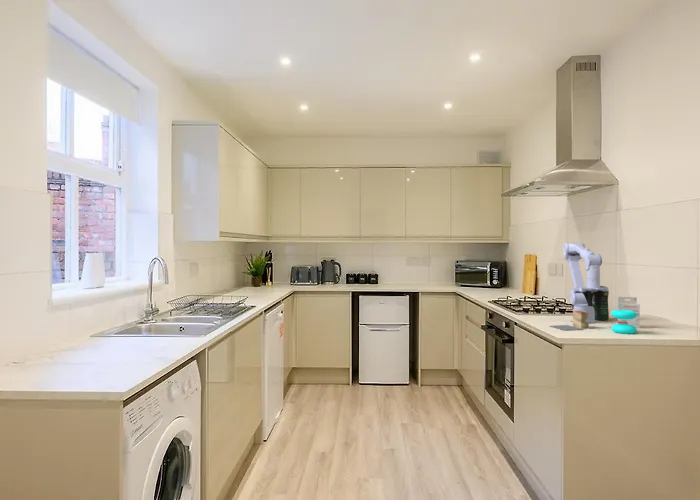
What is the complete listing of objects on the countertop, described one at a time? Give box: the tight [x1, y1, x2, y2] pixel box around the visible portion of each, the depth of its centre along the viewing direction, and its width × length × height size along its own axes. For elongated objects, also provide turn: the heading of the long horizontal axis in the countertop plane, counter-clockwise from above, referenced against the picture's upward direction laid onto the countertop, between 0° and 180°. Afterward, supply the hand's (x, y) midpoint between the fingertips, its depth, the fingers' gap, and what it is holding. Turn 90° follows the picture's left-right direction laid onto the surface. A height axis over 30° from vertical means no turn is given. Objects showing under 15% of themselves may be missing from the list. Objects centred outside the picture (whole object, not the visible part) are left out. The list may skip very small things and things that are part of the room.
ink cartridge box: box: [617, 296, 641, 329], centre depth 217 cm, size 9×5×15 cm, turn 71°
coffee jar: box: [591, 285, 610, 321], centre depth 241 cm, size 10×8×19 cm
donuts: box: [611, 309, 638, 335], centre depth 203 cm, size 10×10×10 cm
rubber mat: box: [549, 324, 584, 331], centre depth 215 cm, size 10×12×1 cm
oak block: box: [572, 310, 590, 329], centre depth 216 cm, size 4×6×8 cm, turn 9°
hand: (593, 306), depth 217 cm, fingers open, 3 cm apart
